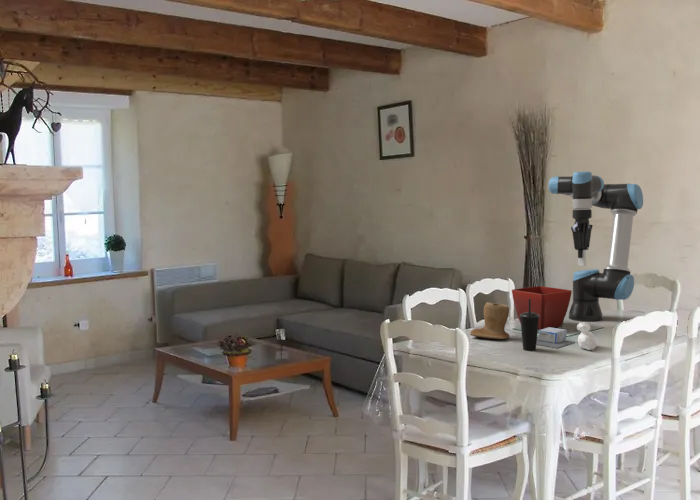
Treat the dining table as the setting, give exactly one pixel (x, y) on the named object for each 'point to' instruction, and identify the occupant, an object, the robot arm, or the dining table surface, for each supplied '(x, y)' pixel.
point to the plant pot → (543, 304)
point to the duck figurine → (586, 337)
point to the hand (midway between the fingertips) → (581, 265)
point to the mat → (553, 345)
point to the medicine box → (552, 335)
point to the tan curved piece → (493, 322)
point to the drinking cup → (529, 329)
